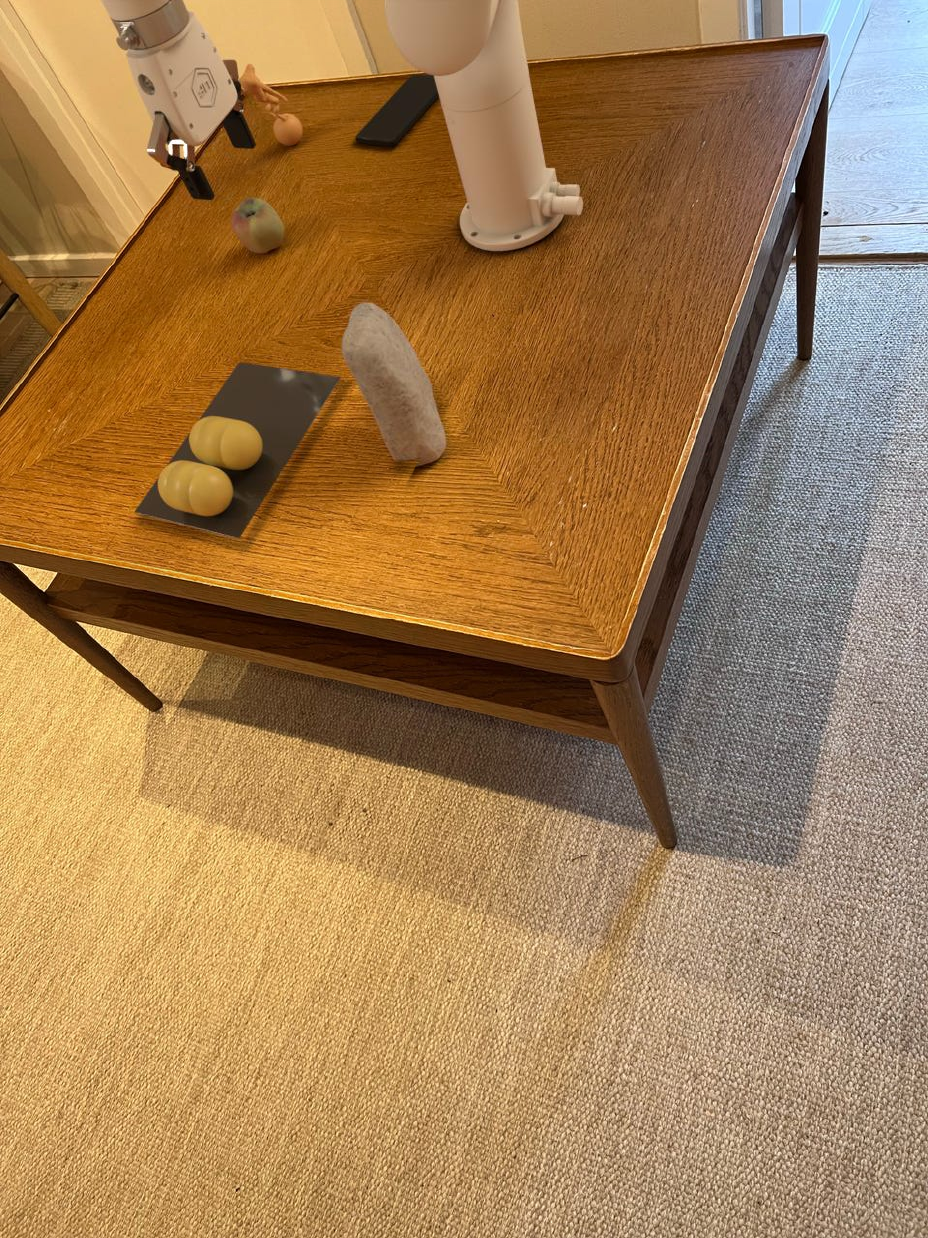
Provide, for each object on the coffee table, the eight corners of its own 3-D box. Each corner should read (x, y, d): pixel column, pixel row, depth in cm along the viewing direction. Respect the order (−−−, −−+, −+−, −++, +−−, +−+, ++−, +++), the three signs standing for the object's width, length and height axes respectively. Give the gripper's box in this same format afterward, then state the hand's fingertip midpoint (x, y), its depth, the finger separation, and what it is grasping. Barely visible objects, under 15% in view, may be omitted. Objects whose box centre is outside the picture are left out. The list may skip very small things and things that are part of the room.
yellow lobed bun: (279, 447, 94) (258, 413, 90) (255, 484, 92) (232, 451, 88) (219, 435, 97) (196, 402, 93) (195, 471, 95) (171, 438, 91)
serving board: (345, 386, 99) (341, 376, 97) (245, 547, 90) (238, 538, 89) (245, 371, 104) (239, 361, 103) (141, 520, 96) (133, 512, 94)
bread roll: (250, 491, 92) (227, 459, 87) (225, 530, 90) (201, 499, 85) (190, 478, 95) (165, 446, 91) (164, 515, 93) (138, 484, 89)
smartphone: (352, 137, 123) (411, 73, 128) (354, 143, 124) (413, 79, 129) (392, 142, 120) (451, 76, 125) (394, 148, 121) (452, 82, 126)
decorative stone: (387, 398, 96) (336, 283, 84) (441, 384, 95) (398, 265, 83) (391, 475, 90) (337, 363, 78) (449, 461, 89) (404, 345, 77)
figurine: (323, 138, 127) (288, 49, 117) (297, 164, 125) (259, 77, 115) (281, 130, 131) (245, 44, 121) (255, 156, 129) (216, 70, 119)
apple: (257, 225, 119) (237, 184, 115) (301, 234, 116) (282, 193, 111) (229, 254, 117) (207, 214, 113) (273, 265, 114) (252, 224, 109)
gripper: (133, 68, 89) (212, 221, 103) (222, -26, 96) (285, 129, 110) (78, 68, 92) (162, 216, 106) (169, -24, 99) (236, 127, 113)
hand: (225, 171), depth 108 cm, fingers open, 9 cm apart
